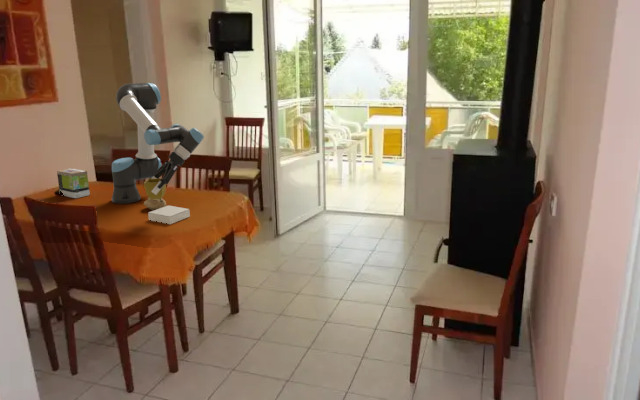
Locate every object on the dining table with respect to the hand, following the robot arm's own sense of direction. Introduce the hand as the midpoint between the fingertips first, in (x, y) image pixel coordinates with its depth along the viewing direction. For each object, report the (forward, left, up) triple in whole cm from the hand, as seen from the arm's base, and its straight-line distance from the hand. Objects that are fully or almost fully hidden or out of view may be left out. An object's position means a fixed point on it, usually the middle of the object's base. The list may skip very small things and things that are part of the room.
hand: (150, 190), depth 245 cm
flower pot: (+1, +2, -5) cm, 5 cm away
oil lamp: (-13, +16, -16) cm, 26 cm away
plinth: (+4, +7, -15) cm, 17 cm away
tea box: (-76, +15, -16) cm, 79 cm away
